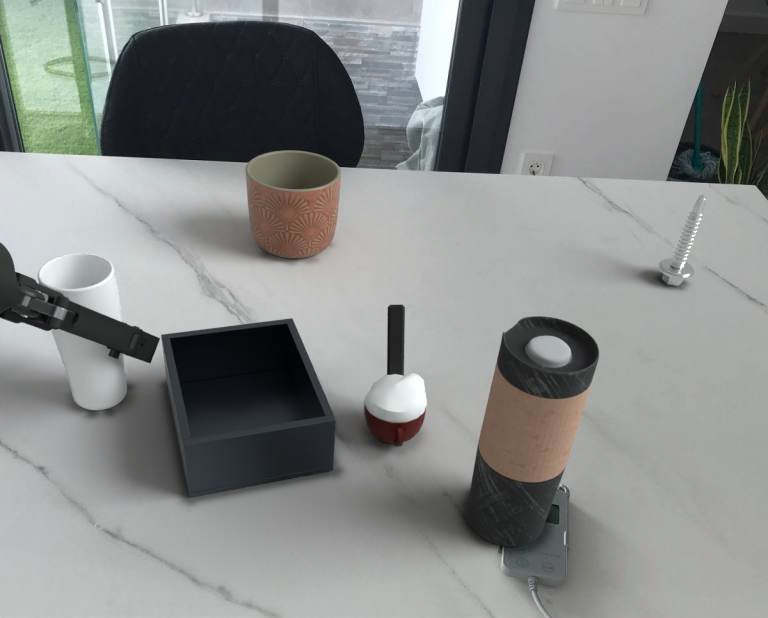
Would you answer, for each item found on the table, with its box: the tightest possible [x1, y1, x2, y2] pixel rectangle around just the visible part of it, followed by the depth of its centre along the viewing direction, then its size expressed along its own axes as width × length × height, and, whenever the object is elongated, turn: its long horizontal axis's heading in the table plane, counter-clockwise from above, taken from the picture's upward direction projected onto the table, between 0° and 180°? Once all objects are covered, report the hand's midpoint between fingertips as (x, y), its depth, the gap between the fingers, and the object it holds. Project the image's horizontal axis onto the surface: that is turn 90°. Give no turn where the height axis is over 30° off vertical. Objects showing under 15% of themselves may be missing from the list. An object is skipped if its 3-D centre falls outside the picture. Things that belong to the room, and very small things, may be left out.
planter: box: [244, 149, 342, 259], centre depth 104 cm, size 12×12×11 cm
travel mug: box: [466, 315, 600, 548], centre depth 65 cm, size 8×8×20 cm
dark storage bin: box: [160, 317, 337, 498], centre depth 76 cm, size 17×14×7 cm
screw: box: [657, 194, 707, 287], centre depth 104 cm, size 13×5×5 cm
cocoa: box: [363, 304, 428, 447], centre depth 76 cm, size 10×6×12 cm, turn 163°
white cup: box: [37, 252, 128, 411], centre depth 75 cm, size 7×7×15 cm
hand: (114, 336), depth 78 cm, fingers open, 9 cm apart
